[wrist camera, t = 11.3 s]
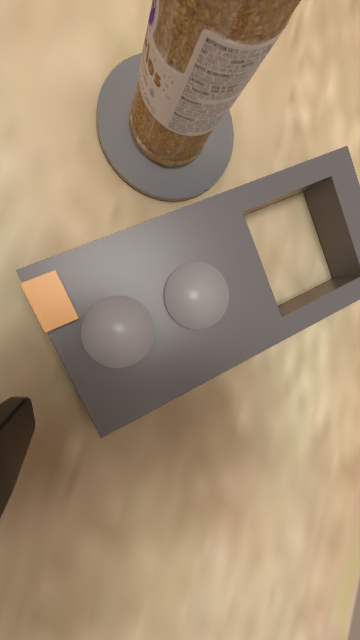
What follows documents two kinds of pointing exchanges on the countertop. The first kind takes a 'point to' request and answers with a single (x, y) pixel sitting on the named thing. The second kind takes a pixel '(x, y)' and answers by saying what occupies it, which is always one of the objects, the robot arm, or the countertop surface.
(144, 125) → the sprinkles bottle
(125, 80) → the slate coaster
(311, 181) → the grey domed holder tray
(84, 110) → the countertop surface
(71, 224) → the countertop surface
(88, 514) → the countertop surface
